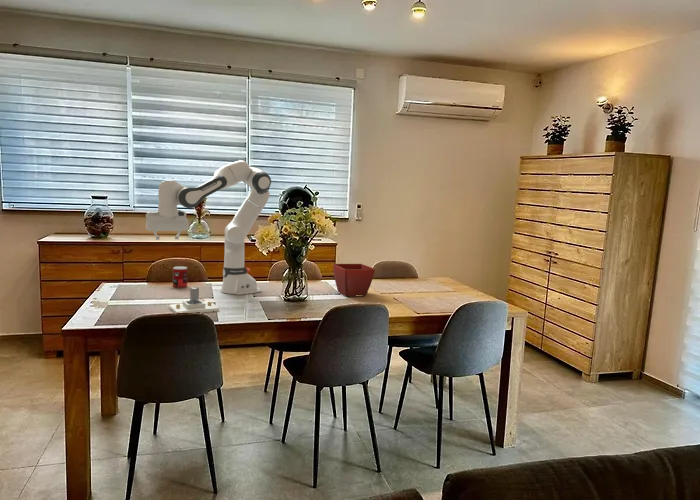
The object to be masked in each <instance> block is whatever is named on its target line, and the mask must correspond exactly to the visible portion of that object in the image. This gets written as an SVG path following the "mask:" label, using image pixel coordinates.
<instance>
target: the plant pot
mask: <svg viewBox="0 0 700 500" xmlns="http://www.w3.org/2000/svg"><path fill="white" fill-rule="evenodd" d="M332 270H333V276H334V281H335V282H334V283H335V285H336V289H337V293H339V292H340V293H339V294H341V293H342V294H341V295H343V296H344V295H345V297H346V296H353V297H357V296H356V295H366V296H367V294H368V291H369V290H370V287H371V286H372V285H371V284H372V282H373V278H374V275H375V271H376V269H375V268H374V267H371V266H368V265H366V264H362V263H332Z"/></svg>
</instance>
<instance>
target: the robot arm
mask: <svg viewBox="0 0 700 500" xmlns="http://www.w3.org/2000/svg"><path fill="white" fill-rule="evenodd" d="M240 182H243V183H244V184H246V185H247V186H249V187H250V192H249V194H248V195H247V196H246V198H245V200H243V202H242V203H241V205H240V207H239V208H238V210H237V212H236V213H235V215H234V216H233V218H232V220H231V221H230V222H229V223H228V224H227V225H226V226H225V228H224V258H223V260H224V261H223V267H222V268H223V270H222V276H223V279H222V285H221V288H220V292H221V293H224V294H229V295H237V296H239V295H246V294H254V293H261V292H262V289H261V287H258V283H257V280H256V279H255V278H254V277H253V276H251V275H250V274H249V272H251V269H250V268H249V267H246V266H245V254H246V253H245V239H246V238H247V236H248V234H249V233H250V231H251V229H252V227H253V226H254V224H255V222H256V220H257V219H258V217H259V216H260V215H261V213H262V212H263V209H264V208H265V207H266V205H267V203H268V201H269V198H270V196H271V194H270V191H269V190H270V188H271V184H272V179H271V176H270V175H269V174H268V172H266V171H264V170H262V169H261V168H258V167H256V166H254V165H249V163H248V162H246V160H241V159H240V160H237V161H234V162H229V163H228V164H225V165H224V166H222V167H220V168H218V169H217V170H215V171H214V174H213V177H212V178H211V179H210V180H208V181H205V182H204V183H202V184H200V185H199V186H196V187H187V186H184V184H181V183H180V182H178V181H177V180H175V179H167V180H163V181H161V182H160V183H159V185H158V193H157V198H158V204H157V209H158V210H157V211H149V212H147V213H145V220H146V222H145V230H146V231H148V232H149V231H150V232H151V231H152V232H153V235H154V236H155V240H156V241H157V240H158V241H159V240H160V236H159V235H158V234H157V233H158V232H159V231H160V232H162V231H164V232H165V231H167V232H169V231H170V232H171V231H172V232H175V231H176V232H177V234H176V235H174V239H175V240H179V238H180V235H181V234H182V231H185V232H186V231H188V230H189V221H188V220H189V219H188V218H187V212H185V211H183V210H181V209H178V205H179V206H182V207H184V208H187V209H194V208H196V207H197V206H198V205H199V204H200V203H201V202H202V201H203V200H204V199H205V198H207V197H209V196H210V195H212V194H214V193H216V192H217V191H221V190H224V189H227V188H230V187H234V185H237V184H238V183H240Z"/></svg>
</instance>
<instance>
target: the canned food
mask: <svg viewBox="0 0 700 500" xmlns="http://www.w3.org/2000/svg"><path fill="white" fill-rule="evenodd" d="M188 272H189V271H188V267H187V266H178V265H177V266H174V267H172V287H174V288H180V289H181V288H186V287H187V286H188Z"/></svg>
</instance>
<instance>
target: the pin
mask: <svg viewBox="0 0 700 500" xmlns="http://www.w3.org/2000/svg"><path fill="white" fill-rule="evenodd" d="M199 297H200V287H196V286H192V287H190V288H189V300H190V304H199V300H200V298H199Z"/></svg>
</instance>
